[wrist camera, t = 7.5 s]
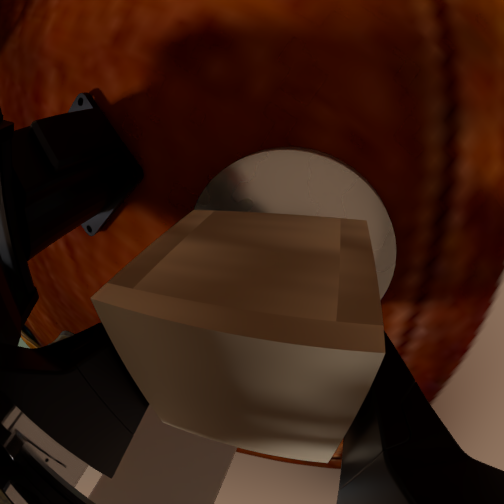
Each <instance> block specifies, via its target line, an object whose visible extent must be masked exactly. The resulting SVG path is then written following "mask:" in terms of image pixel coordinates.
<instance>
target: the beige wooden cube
mask: <svg viewBox="0 0 504 504" xmlns="http://www.w3.org/2000/svg"><path fill="white" fill-rule="evenodd" d="M91 300H92V302H93V305H94V307H95V309H96V311H97V313H98V315H99V318H100V320H101V322H102V324H103V326H104V328H105V330H106V332H107V334H108V336H109V337H110V339H111V341H112V343H113V345H114V347H115V349H116V350H117V352H118V354H119V356H120V358H121V359H122V361H123V363H124V365H125V366H126V368H127V370H128V371H129V373H130V375H131V376H132V378H133V380H134V381H135V383H136V384H137V386H138V387H139V389H140V391H141V392H142V394H143V395H144V397H145V398H146V400H147V401H148V403H149V404H150V405H151V407H152V408H153V410H154V411H155V413H156V414H157V415H158V417H159V418H160V420H161V421H162V422H163V423H165V424H168V425H170V426H173V427H175V428H178V429H181V430H183V431H186V432H189V433H192V434H195V435H198V436H201V437H204V438H207V439H210V440H213V441H217V442H220V443H224V444H227V445H231V446H235V447H238V448H242V449H247V450H251V451H255V452H260V453H264V454H269V455H275V456H280V457H286V458H292V459H299V460H306V461H314V462H324V463H328V462H329V460H330V459H331V457H332V456H333V454H334V452H335V451H336V449H337V448H338V446H339V444H340V443H341V441H342V439H343V438H344V436H345V434H346V433H347V431H348V429H349V427H350V426H351V424H352V422H353V420H354V418H355V416H356V415H357V413H358V411H359V409H360V407H361V405H362V403H363V401H364V399H365V397H366V395H367V393H368V391H369V389H370V387H371V385H372V383H373V381H374V378H375V376H376V374H377V372H378V369H379V367H380V365H381V362H382V360H383V358H384V355H385V340H384V328H383V318H382V309H381V301H380V293H379V286H378V279H377V273H376V266H375V261H374V255H373V249H372V244H371V239H370V234H369V229H368V224H367V220H356V219H345V218H333V217H321V216H307V215H293V214H277V213H259V212H238V211H213V210H193V211H192V212H190V213H189V214H188V215H186V216H185V217H184V218H183V219H181V220H180V221H179V222H178V223H176V224H175V225H174V226H173V227H171V228H170V229H169V230H168V231H167V232H165V233H164V234H163V235H162V236H160V237H159V238H158V239H157V240H156V241H154V242H153V243H152V244H151V245H150V246H148V247H147V248H146V249H145V250H144V251H143V252H141V253H140V254H139V255H138V256H137V257H136V258H134V259H133V260H132V261H131V262H130V263H129V264H128V265H126V266H125V267H124V268H123V269H122V270H121V271H120V272H119V273H117V274H116V275H115V276H114V277H113V278H112V279H111V280H110V281H109V282H107V283H106V284H105V285H104V286H103V287H102V288H101V289H100V290H99V291H98V292H97V293H96V294H95V295H93V296H92V297H91Z"/></svg>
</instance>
